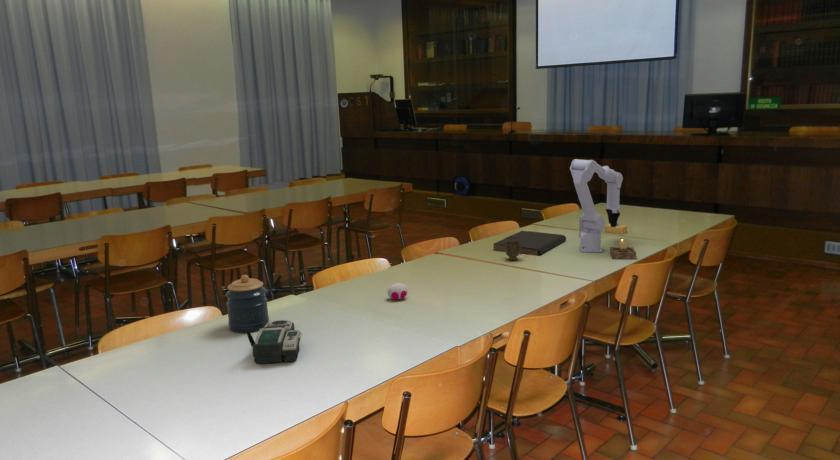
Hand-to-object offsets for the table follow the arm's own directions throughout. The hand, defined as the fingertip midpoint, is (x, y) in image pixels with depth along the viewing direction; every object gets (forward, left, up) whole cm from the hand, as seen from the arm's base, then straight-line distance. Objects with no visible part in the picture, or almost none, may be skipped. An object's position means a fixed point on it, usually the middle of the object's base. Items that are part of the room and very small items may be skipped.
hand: (612, 225), depth 298 cm
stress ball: (-85, -90, -10) cm, 125 cm away
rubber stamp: (+5, +28, -10) cm, 30 cm away
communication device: (-112, -137, -10) cm, 177 cm away
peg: (+2, -23, -9) cm, 25 cm away
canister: (-129, -122, -10) cm, 178 cm away
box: (+2, -23, -9) cm, 25 cm away
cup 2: (-10, +16, -10) cm, 21 cm away
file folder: (-39, -4, -10) cm, 40 cm away
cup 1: (-46, -31, -10) cm, 56 cm away
